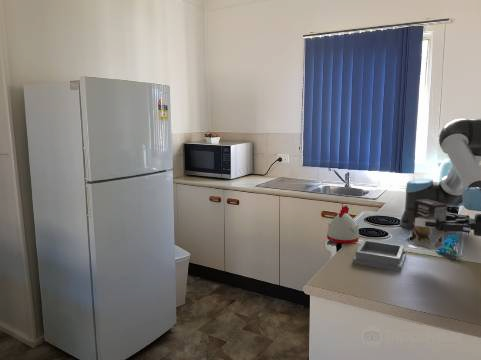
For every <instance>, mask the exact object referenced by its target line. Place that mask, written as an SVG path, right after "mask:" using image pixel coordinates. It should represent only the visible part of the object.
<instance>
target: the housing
mask: <svg viewBox="0 0 481 360" xmlns="http://www.w3.org/2000/svg"><path fill="white" fill-rule="evenodd" d="M406 256H407V250H406V249H405V245H404V244H396V243H390V242H389V243H388V242H381V241H376V240H375V241H374V240H368V239H363V240H362V242H360V245H359V246H358V248H357V250H356V251H355V256H353V258H352V264H355V265H359V266H366V267H373V268H377V269H384V270H389V271H395V272H402V270H403V266H404V263H405V260H406Z"/></svg>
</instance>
